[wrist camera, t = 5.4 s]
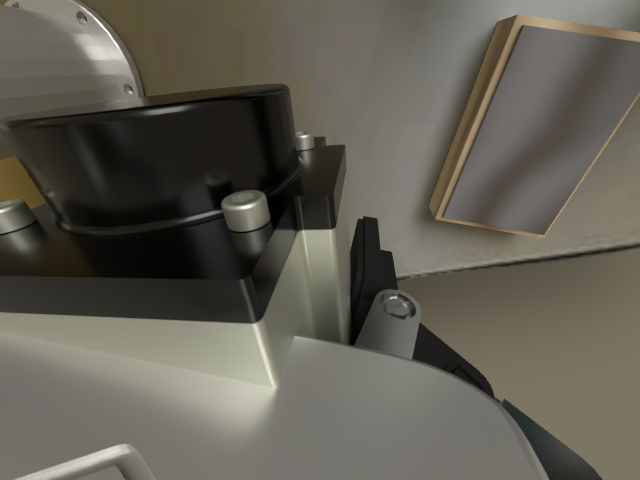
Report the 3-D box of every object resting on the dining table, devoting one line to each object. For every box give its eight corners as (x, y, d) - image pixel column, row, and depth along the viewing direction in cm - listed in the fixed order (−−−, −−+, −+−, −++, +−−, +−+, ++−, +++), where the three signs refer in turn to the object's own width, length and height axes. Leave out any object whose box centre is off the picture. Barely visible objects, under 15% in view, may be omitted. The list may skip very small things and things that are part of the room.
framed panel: (428, 205, 28) (435, 221, 26) (498, 21, 20) (520, 13, 17) (527, 223, 28) (546, 240, 25) (638, 41, 20) (684, 37, 17)
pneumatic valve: (275, 292, 18) (159, 585, 8) (226, 83, 12) (-594, 202, 2) (362, 294, 17) (358, 630, 7) (358, 69, 11) (274, 144, 1)
